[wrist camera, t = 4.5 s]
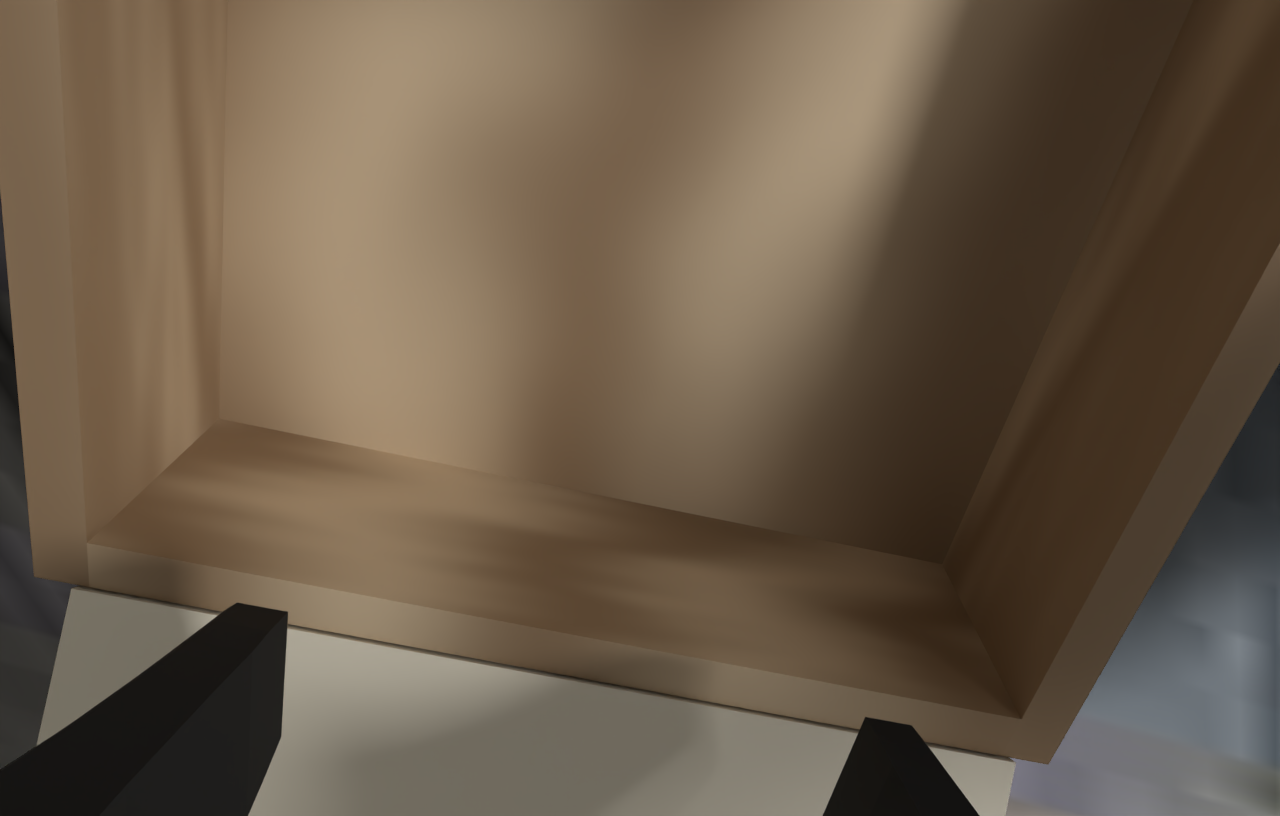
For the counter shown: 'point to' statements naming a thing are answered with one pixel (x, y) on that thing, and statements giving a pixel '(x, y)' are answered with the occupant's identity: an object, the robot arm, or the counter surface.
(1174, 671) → the counter surface
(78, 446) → the kraft box
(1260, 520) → the counter surface
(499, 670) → the flap
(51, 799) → the robot arm
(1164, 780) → the counter surface
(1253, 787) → the counter surface
